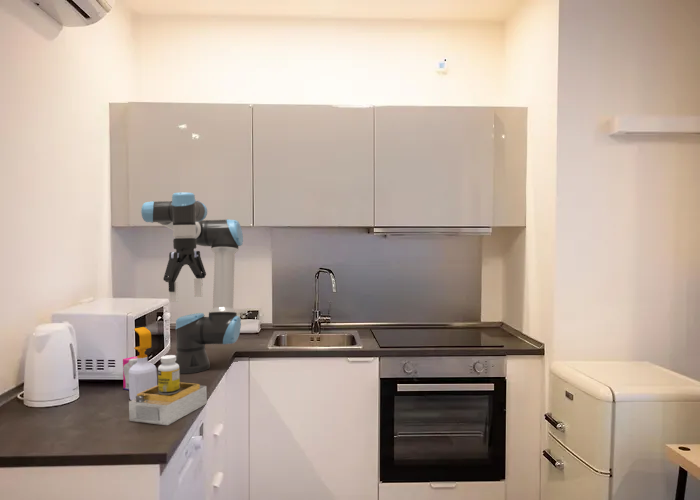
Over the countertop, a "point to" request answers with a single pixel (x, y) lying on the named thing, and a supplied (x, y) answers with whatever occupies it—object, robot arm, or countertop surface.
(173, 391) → the pill bottle
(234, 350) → the countertop surface
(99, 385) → the countertop surface
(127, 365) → the supplement box
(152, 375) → the spray bottle
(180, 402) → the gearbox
